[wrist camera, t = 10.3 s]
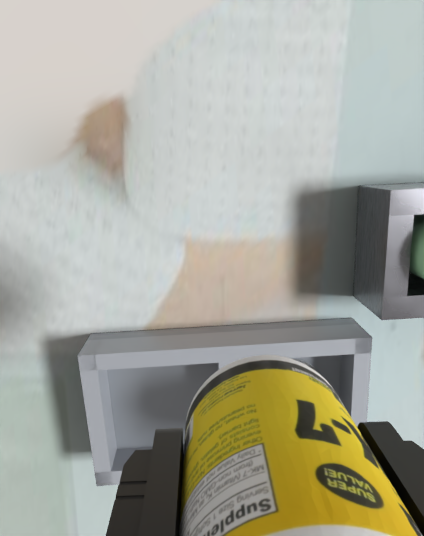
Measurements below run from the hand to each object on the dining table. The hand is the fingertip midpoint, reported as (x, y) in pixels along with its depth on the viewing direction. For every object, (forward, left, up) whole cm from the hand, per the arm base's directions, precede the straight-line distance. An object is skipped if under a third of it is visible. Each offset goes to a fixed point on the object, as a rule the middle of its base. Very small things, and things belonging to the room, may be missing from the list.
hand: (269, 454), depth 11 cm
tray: (0, +7, -15) cm, 16 cm away
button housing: (-12, -3, -15) cm, 19 cm away
